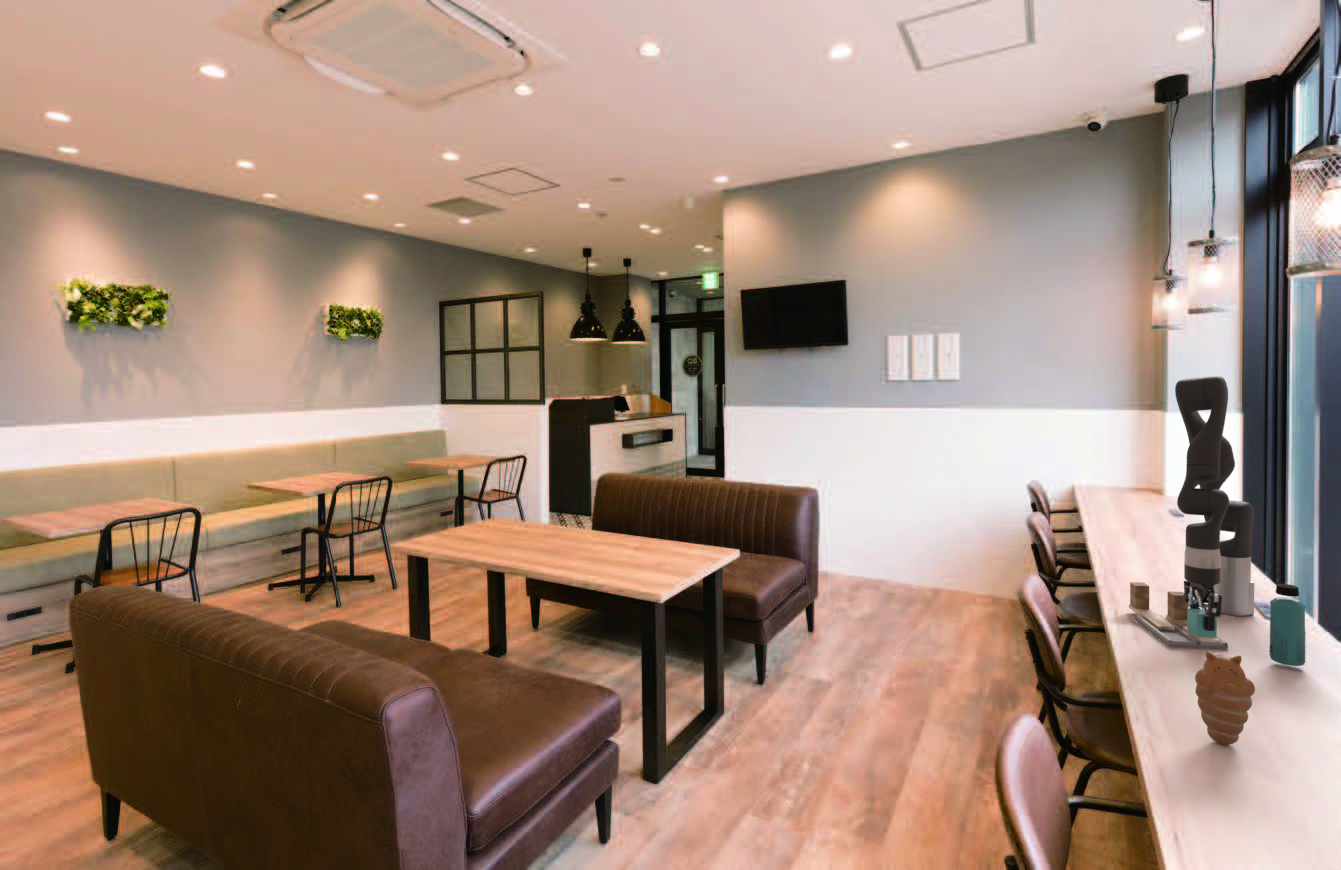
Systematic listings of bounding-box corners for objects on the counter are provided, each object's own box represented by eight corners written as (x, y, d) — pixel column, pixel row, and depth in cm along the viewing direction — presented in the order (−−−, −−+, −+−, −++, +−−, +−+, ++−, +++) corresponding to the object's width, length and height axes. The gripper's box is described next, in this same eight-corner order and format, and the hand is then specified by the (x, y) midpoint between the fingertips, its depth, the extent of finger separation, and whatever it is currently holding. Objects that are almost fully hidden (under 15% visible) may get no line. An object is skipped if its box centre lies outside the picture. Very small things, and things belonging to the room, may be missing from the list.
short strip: (1181, 618, 191) (1182, 591, 191) (1196, 628, 184) (1196, 600, 183) (1165, 618, 192) (1165, 590, 192) (1179, 627, 185) (1179, 599, 184)
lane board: (1185, 622, 192) (1185, 614, 192) (1227, 650, 172) (1227, 641, 172) (1134, 620, 195) (1134, 612, 195) (1169, 647, 175) (1169, 639, 175)
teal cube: (1207, 631, 179) (1207, 609, 179) (1216, 637, 174) (1216, 614, 174) (1187, 630, 180) (1187, 608, 180) (1196, 636, 176) (1196, 614, 175)
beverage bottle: (1312, 673, 157) (1314, 589, 156) (1280, 672, 158) (1281, 589, 157) (1293, 662, 163) (1294, 581, 162) (1261, 661, 165) (1262, 581, 163)
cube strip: (1143, 608, 201) (1144, 582, 201) (1174, 630, 183) (1175, 601, 183) (1128, 607, 202) (1128, 581, 202) (1158, 629, 184) (1158, 601, 184)
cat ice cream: (1197, 748, 128) (1197, 656, 127) (1191, 729, 135) (1191, 642, 133) (1257, 759, 123) (1258, 664, 122) (1248, 739, 130) (1249, 649, 129)
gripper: (1234, 571, 168) (1234, 636, 169) (1204, 557, 182) (1203, 617, 183) (1200, 570, 170) (1199, 635, 171) (1172, 556, 184) (1172, 616, 185)
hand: (1201, 625), depth 177 cm, fingers open, 6 cm apart
